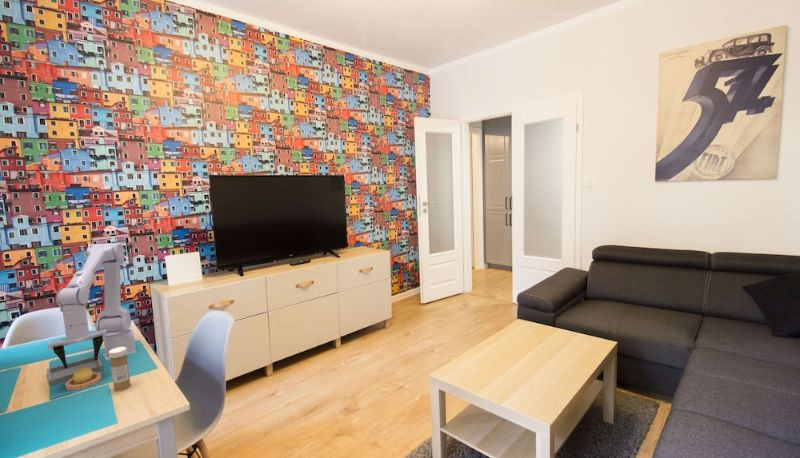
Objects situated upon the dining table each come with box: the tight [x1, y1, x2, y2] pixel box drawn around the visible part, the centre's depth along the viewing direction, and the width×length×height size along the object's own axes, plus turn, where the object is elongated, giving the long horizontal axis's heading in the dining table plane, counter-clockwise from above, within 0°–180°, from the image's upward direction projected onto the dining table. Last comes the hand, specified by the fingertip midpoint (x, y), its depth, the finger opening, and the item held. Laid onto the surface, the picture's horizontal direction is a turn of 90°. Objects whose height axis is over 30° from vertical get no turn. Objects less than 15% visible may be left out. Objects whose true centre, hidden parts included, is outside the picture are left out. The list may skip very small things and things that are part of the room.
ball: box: [73, 367, 93, 384], centre depth 123 cm, size 5×5×5 cm
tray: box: [46, 355, 105, 387], centre depth 130 cm, size 14×12×2 cm
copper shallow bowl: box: [64, 372, 103, 391], centre depth 123 cm, size 9×9×2 cm
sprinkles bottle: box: [109, 347, 132, 393], centre depth 118 cm, size 5×5×14 cm
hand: (81, 363), depth 122 cm, fingers open, 7 cm apart
